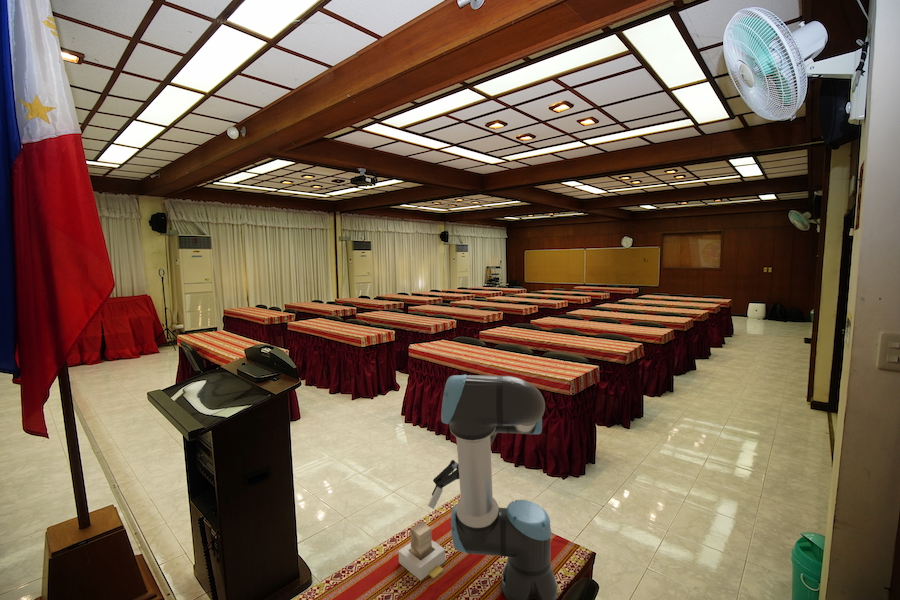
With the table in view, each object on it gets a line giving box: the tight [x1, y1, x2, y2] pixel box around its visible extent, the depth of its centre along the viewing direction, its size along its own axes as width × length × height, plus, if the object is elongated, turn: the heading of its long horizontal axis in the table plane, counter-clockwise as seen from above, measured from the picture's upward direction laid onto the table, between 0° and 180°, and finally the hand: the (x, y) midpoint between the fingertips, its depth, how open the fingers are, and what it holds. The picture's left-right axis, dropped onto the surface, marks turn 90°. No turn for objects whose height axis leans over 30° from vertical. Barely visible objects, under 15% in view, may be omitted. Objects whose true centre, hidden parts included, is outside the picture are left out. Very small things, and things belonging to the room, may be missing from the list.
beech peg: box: [409, 521, 433, 560], centre depth 121 cm, size 4×4×11 cm
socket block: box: [398, 539, 446, 582], centre depth 120 cm, size 12×10×4 cm
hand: (445, 516), depth 128 cm, fingers open, 13 cm apart
